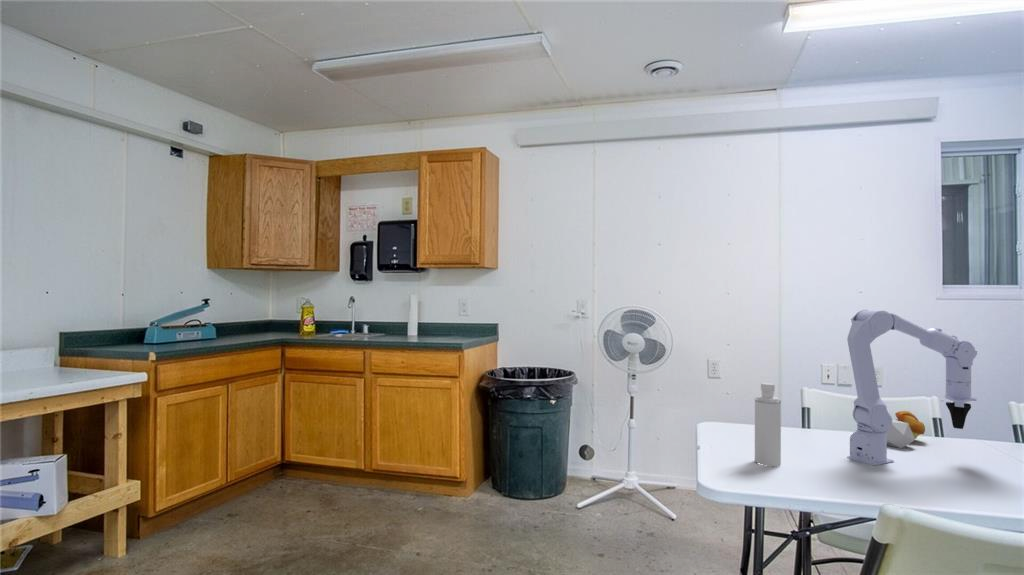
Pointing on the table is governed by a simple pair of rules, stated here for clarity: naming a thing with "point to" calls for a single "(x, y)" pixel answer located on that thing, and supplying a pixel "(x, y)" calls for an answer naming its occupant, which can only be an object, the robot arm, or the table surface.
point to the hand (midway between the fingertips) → (958, 428)
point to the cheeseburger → (911, 422)
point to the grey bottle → (768, 427)
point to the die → (899, 434)
